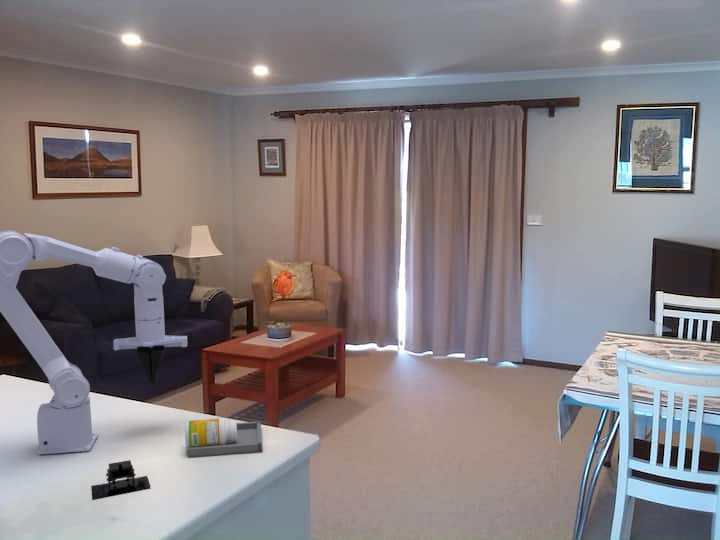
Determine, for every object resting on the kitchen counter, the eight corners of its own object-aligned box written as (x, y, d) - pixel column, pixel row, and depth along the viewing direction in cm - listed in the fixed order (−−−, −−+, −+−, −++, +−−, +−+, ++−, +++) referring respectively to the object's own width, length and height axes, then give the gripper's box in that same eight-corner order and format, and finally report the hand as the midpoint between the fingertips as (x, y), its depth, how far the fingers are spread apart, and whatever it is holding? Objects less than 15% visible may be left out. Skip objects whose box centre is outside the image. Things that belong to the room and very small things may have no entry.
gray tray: (187, 457, 125) (187, 449, 125) (192, 433, 137) (192, 425, 136) (262, 451, 127) (261, 444, 127) (260, 428, 139) (260, 421, 139)
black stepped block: (83, 506, 108) (81, 480, 107) (82, 487, 114) (80, 462, 114) (161, 491, 113) (160, 466, 112) (156, 474, 119) (155, 450, 119)
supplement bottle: (186, 429, 131) (236, 425, 133) (186, 454, 128) (237, 449, 130) (185, 416, 127) (236, 412, 129) (184, 441, 124) (237, 436, 126)
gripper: (108, 323, 131) (112, 389, 133) (184, 320, 133) (186, 385, 135) (115, 316, 137) (119, 378, 139) (187, 313, 140) (189, 374, 142)
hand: (153, 381), depth 138 cm, fingers closed
